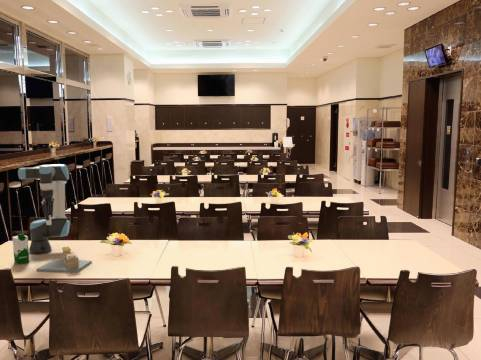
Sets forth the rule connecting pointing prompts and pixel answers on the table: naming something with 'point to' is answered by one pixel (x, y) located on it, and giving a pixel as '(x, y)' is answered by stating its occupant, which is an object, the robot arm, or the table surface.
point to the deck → (63, 264)
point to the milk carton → (21, 249)
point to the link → (70, 261)
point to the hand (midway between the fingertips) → (48, 224)
